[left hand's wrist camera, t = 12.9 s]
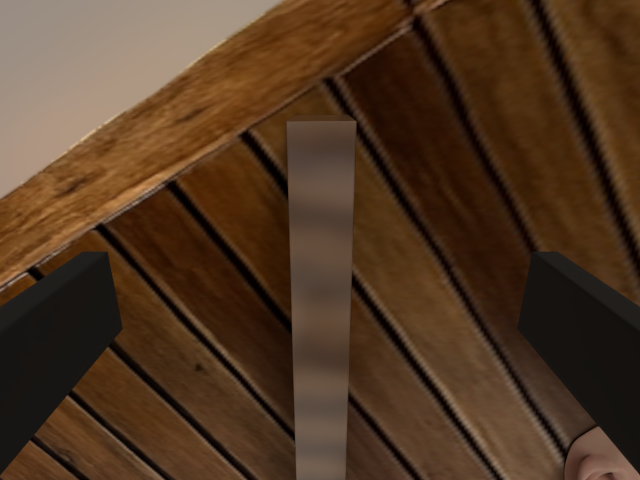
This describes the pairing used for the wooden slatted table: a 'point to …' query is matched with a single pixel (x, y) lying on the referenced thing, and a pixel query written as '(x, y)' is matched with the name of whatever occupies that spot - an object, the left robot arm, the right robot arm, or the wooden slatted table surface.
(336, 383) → the plank
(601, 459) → the anatomical model
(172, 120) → the wooden slatted table surface
